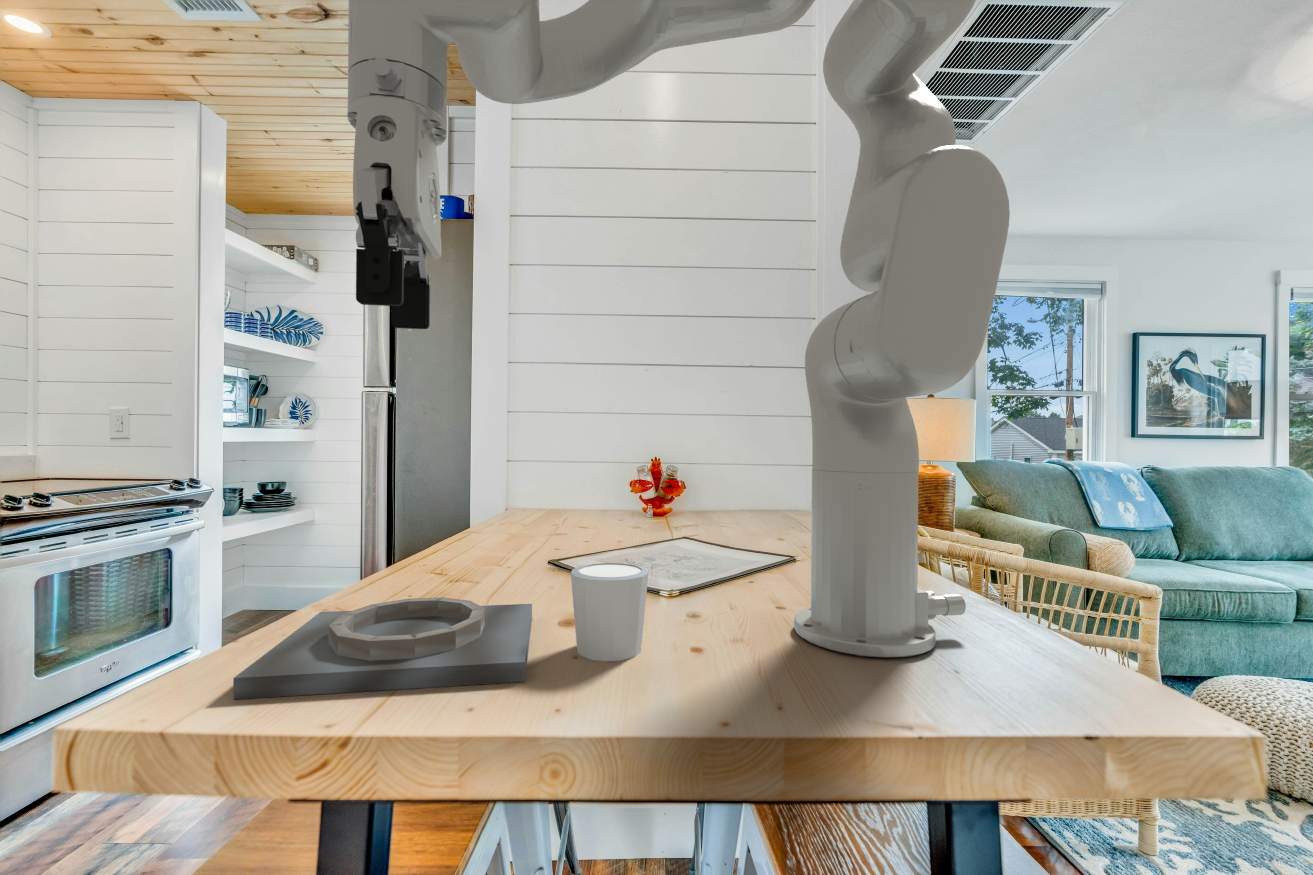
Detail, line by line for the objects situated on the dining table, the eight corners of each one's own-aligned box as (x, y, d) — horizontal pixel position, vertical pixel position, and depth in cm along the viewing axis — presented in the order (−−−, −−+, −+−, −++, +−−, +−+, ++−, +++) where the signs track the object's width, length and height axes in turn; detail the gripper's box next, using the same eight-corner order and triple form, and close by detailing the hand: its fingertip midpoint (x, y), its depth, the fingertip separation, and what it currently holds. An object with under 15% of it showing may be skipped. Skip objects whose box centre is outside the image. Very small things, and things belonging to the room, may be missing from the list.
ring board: (531, 618, 61) (532, 588, 61) (524, 681, 45) (525, 641, 45) (320, 627, 58) (320, 596, 58) (233, 699, 42) (233, 656, 42)
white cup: (638, 667, 48) (639, 581, 48) (558, 660, 50) (559, 576, 50) (655, 639, 55) (656, 563, 55) (584, 633, 57) (585, 559, 57)
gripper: (424, 49, 42) (422, 295, 42) (461, 162, 59) (459, 336, 59) (307, 36, 40) (304, 290, 40) (380, 155, 57) (378, 333, 57)
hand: (396, 317), depth 49 cm, fingers open, 9 cm apart
